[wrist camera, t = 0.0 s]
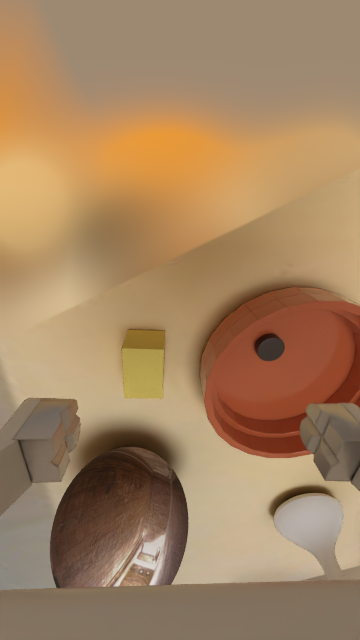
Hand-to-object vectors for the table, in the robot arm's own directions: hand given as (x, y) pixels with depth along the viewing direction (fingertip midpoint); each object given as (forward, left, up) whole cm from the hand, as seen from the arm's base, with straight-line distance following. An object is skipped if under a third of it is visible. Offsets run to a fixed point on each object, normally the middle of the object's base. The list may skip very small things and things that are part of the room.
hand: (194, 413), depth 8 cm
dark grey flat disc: (+6, +10, -16) cm, 20 cm away
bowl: (+9, +13, -17) cm, 23 cm away
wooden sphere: (+26, -5, -17) cm, 32 cm away
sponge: (+8, -3, -17) cm, 19 cm away
